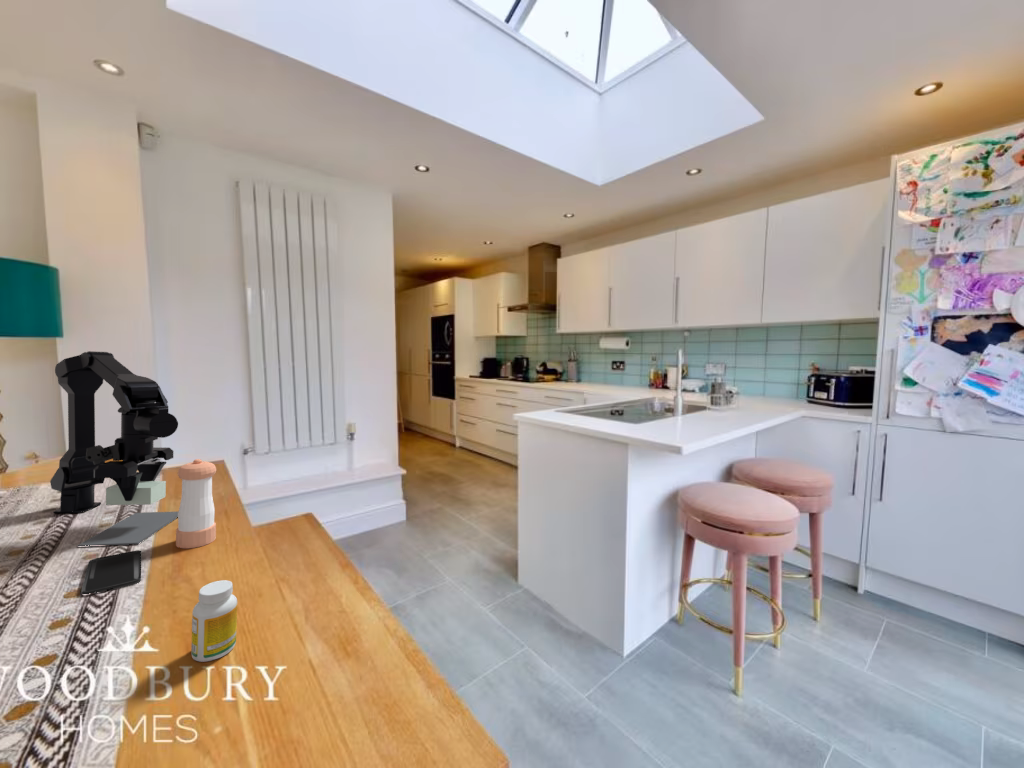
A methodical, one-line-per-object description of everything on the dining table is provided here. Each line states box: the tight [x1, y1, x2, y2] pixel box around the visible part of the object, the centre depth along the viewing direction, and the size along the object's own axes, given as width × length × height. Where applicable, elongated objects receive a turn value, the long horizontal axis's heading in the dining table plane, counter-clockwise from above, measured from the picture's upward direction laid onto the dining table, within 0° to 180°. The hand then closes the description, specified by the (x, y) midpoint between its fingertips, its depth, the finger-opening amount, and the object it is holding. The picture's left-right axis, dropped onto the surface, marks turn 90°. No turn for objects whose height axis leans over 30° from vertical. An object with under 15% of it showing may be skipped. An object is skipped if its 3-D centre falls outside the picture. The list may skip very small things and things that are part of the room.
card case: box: [105, 480, 167, 506], centre depth 97 cm, size 9×6×4 cm, turn 101°
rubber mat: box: [77, 510, 179, 546], centre depth 98 cm, size 19×11×1 cm, turn 14°
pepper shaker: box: [175, 458, 217, 549], centre depth 92 cm, size 7×7×19 cm
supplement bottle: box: [190, 579, 238, 663], centre depth 60 cm, size 5×5×10 cm
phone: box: [80, 550, 142, 594], centre depth 78 cm, size 8×1×15 cm
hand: (136, 496), depth 97 cm, fingers closed on card case, 6 cm apart
